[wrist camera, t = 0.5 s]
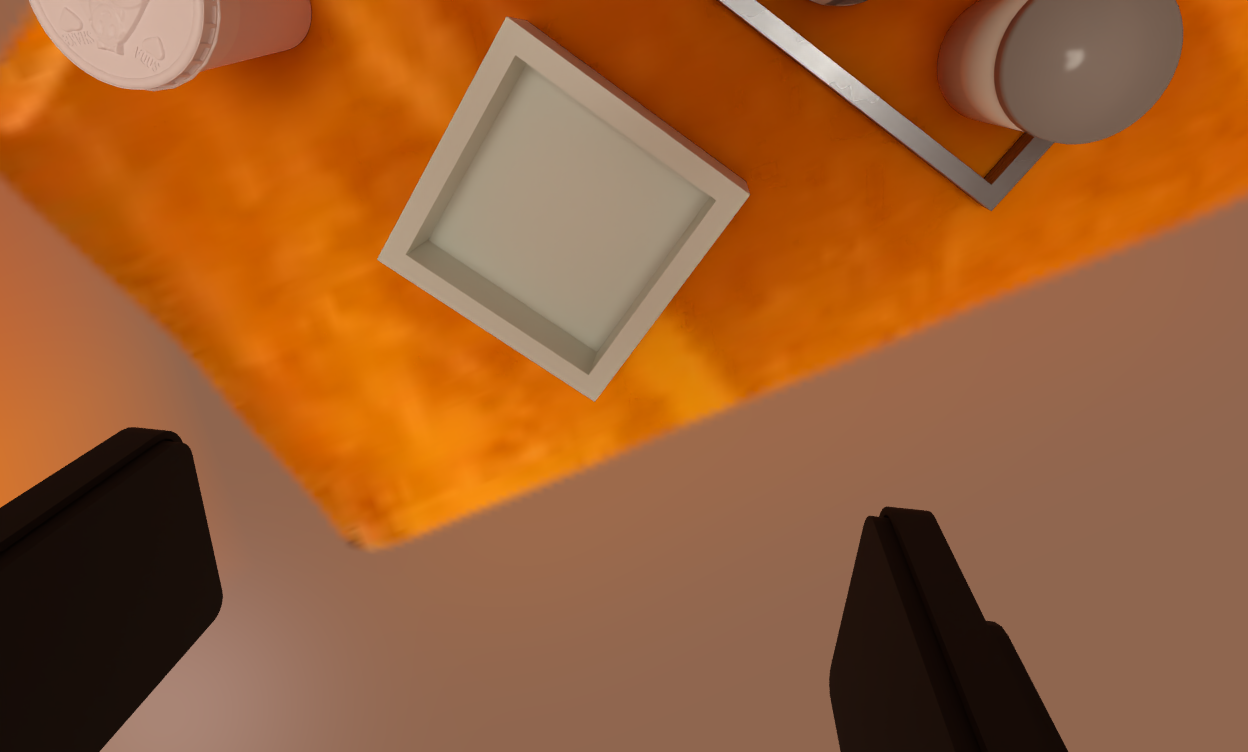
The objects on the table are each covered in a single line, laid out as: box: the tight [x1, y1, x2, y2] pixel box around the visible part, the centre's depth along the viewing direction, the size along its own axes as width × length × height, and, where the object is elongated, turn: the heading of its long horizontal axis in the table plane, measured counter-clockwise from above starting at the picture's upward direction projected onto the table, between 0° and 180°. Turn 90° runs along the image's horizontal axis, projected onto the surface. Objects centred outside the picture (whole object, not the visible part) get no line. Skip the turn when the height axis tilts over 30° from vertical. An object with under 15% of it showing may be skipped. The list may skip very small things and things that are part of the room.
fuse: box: [937, 0, 1183, 144], centre depth 27 cm, size 5×5×8 cm
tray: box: [377, 17, 750, 402], centre depth 33 cm, size 12×12×4 cm
